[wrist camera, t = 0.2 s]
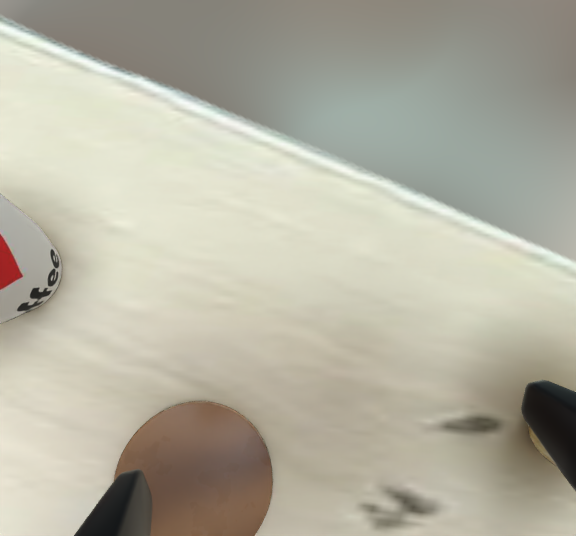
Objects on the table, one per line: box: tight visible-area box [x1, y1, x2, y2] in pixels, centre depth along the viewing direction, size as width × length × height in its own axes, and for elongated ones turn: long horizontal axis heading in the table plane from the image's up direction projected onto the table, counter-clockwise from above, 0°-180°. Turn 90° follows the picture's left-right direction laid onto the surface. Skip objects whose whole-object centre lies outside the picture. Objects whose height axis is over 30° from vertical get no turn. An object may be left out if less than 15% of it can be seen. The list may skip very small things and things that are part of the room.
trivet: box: [114, 401, 273, 536], centre depth 21 cm, size 9×9×1 cm
